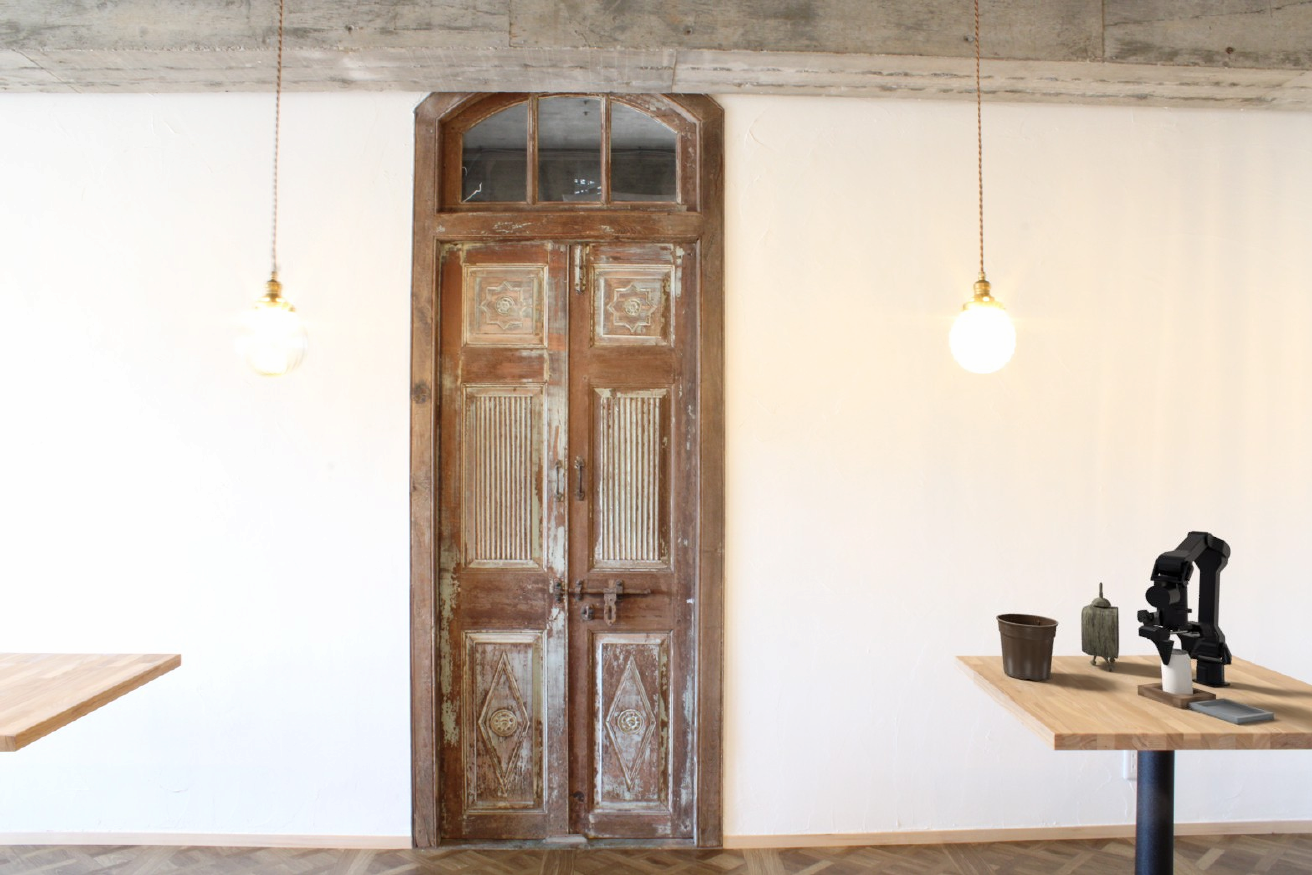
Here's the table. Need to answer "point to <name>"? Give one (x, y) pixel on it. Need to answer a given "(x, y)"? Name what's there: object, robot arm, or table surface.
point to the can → (1177, 673)
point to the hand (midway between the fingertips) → (1175, 663)
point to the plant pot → (1027, 645)
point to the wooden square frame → (1173, 695)
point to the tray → (1231, 711)
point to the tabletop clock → (1100, 630)
